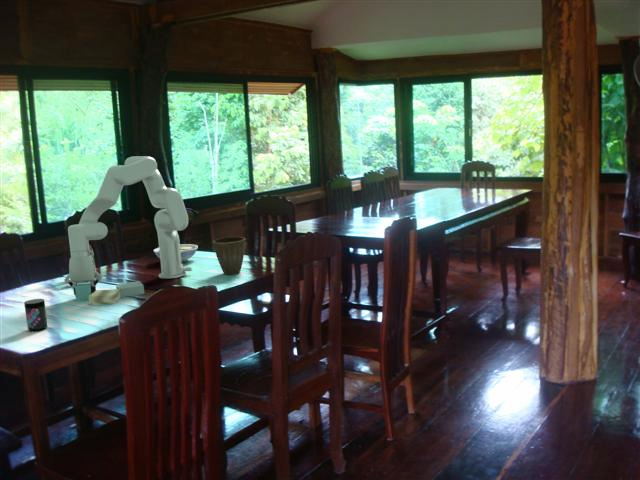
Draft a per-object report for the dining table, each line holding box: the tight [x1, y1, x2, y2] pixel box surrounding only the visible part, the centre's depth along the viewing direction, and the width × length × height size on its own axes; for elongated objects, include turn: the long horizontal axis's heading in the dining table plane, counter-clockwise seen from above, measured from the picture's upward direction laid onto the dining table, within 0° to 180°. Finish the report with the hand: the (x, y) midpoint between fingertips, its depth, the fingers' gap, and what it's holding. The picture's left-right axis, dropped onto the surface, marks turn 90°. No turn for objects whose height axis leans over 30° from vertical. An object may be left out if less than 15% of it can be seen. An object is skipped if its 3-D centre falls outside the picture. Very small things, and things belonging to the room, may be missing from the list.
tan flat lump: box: [88, 288, 122, 306], centre depth 281 cm, size 10×10×4 cm
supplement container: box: [23, 298, 48, 333], centre depth 245 cm, size 7×7×10 cm
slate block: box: [115, 280, 145, 298], centre depth 292 cm, size 10×10×4 cm
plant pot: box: [212, 236, 246, 276], centre depth 318 cm, size 15×15×16 cm
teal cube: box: [75, 282, 92, 301], centre depth 288 cm, size 6×6×6 cm
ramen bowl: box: [153, 243, 199, 264], centre depth 354 cm, size 25×23×8 cm
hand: (85, 295), depth 288 cm, fingers closed on teal cube, 6 cm apart
